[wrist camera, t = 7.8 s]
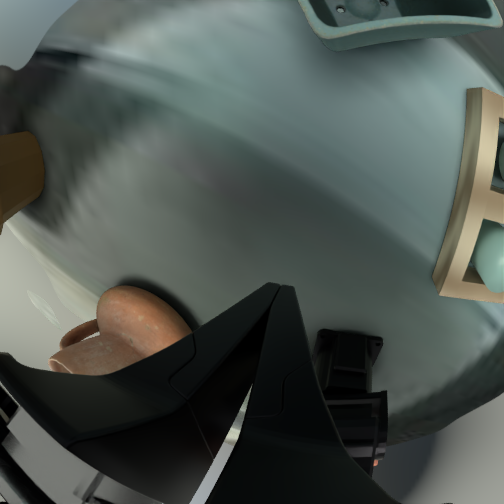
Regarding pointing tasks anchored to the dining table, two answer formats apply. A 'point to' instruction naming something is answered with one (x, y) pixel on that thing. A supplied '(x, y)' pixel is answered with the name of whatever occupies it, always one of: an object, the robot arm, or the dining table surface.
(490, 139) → the board
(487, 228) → the button
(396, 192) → the dining table surface
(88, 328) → the ceramic jug
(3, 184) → the flowerpot
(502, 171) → the button
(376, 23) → the flower pot
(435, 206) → the dining table surface
